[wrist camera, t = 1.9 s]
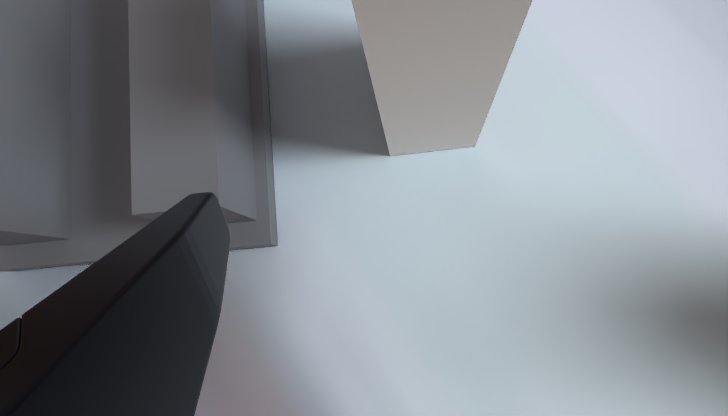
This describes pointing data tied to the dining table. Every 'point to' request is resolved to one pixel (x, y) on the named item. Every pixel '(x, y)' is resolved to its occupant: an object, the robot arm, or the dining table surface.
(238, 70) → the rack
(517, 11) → the grey block
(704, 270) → the dining table surface
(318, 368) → the dining table surface
